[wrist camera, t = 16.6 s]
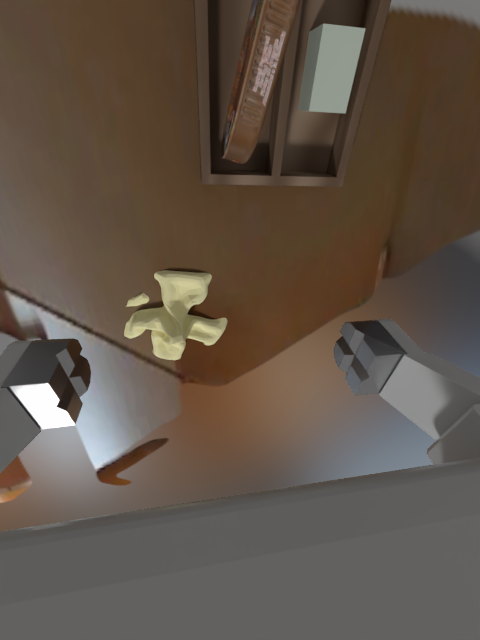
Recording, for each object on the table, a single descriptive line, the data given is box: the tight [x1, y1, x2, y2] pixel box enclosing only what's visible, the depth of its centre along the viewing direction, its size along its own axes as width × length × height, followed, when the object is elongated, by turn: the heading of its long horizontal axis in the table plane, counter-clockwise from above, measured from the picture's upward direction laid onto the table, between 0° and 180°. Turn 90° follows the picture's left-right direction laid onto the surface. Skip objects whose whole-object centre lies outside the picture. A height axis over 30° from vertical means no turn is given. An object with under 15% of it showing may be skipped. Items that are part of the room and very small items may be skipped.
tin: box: [221, 0, 300, 164], centre depth 23 cm, size 15×3×8 cm, turn 163°
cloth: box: [124, 270, 228, 360], centre depth 44 cm, size 22×19×6 cm
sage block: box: [298, 23, 366, 113], centre depth 27 cm, size 4×6×4 cm, turn 177°
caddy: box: [194, 0, 391, 187], centre depth 26 cm, size 17×20×4 cm
